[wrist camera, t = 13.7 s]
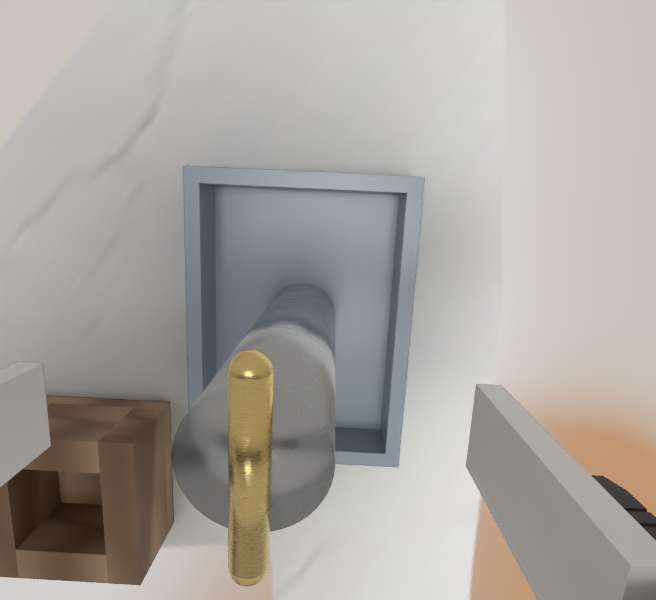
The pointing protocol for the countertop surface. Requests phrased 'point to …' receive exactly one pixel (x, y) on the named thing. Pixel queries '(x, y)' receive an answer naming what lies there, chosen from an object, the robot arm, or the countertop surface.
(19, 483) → the block
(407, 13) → the countertop surface
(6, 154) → the countertop surface
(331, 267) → the tray
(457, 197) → the countertop surface
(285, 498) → the steel pin
